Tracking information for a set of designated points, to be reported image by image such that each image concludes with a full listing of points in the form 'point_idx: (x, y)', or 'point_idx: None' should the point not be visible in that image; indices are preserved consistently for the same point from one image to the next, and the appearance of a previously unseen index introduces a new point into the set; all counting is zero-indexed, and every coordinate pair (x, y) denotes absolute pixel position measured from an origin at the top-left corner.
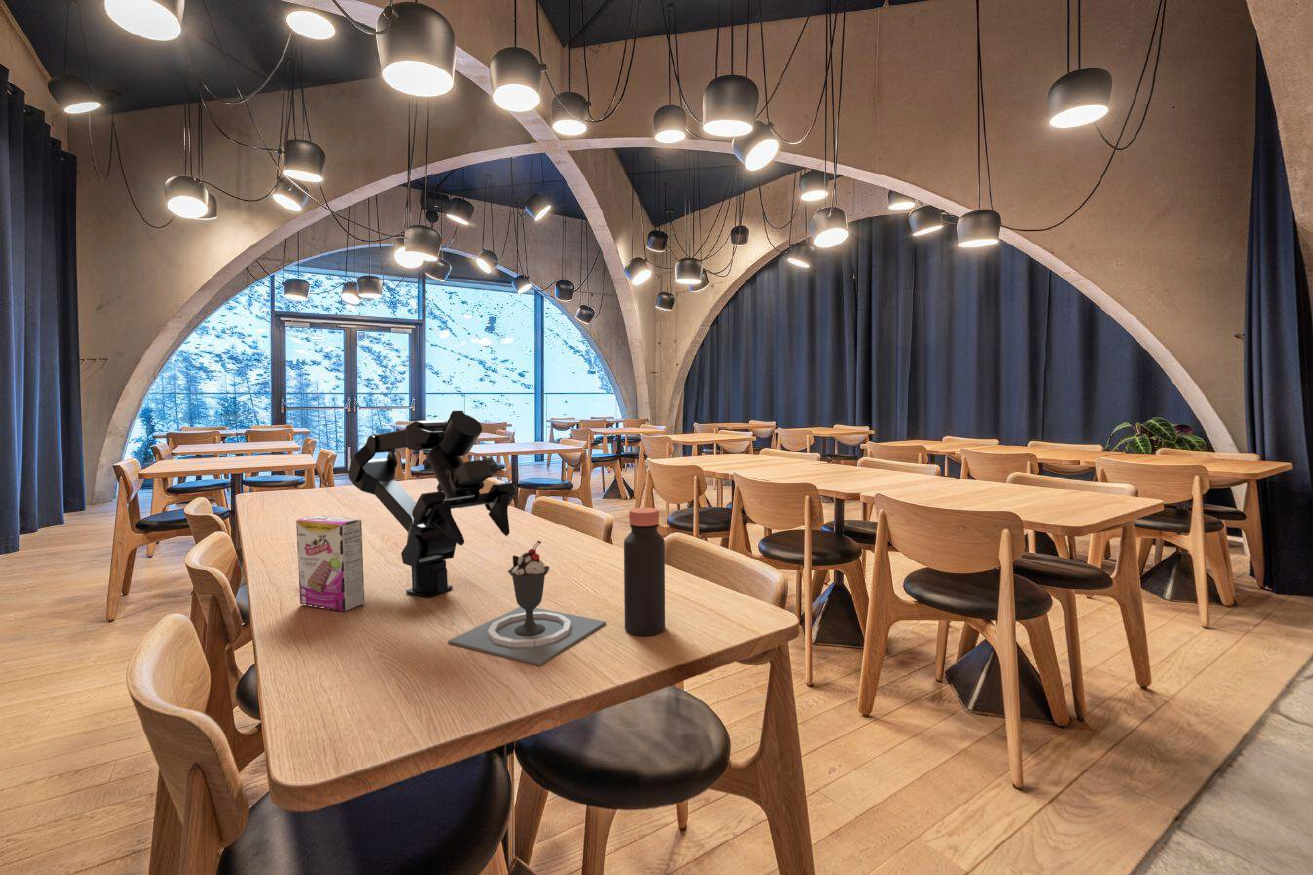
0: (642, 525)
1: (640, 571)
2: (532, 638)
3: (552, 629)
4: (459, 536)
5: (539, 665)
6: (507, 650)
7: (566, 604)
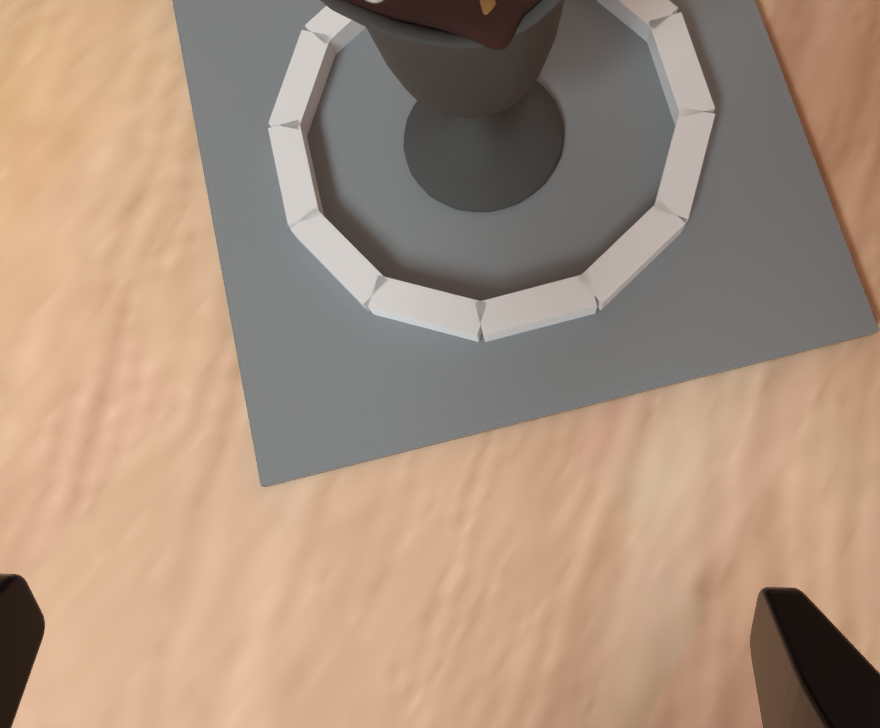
0: None
1: None
2: None
3: None
4: (848, 656)
5: None
6: (713, 8)
7: (81, 335)
